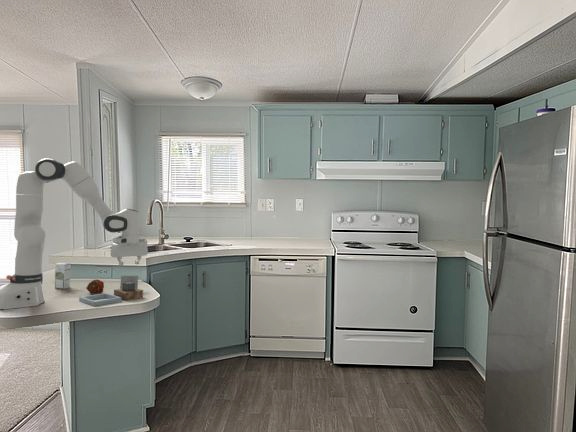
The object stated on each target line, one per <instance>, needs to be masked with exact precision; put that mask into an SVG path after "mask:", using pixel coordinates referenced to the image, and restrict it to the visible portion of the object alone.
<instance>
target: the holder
mask: <svg viewBox="0 0 576 432" xmlns="http://www.w3.org/2000/svg"><path fill="white" fill-rule="evenodd" d="M113 295H115V296H118V297H121V301H131V299H132V300H136V299H135V298H138V299H141V298H140V297H144V296H143V295H144V290H143V289H140V288H138V289H137V288H135V291H129V292H125V291H122V289H120V288H118V289H114V290H113Z"/></svg>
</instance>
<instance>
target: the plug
mask: <svg viewBox="0 0 576 432" xmlns="http://www.w3.org/2000/svg"><path fill="white" fill-rule="evenodd" d="M122 291H125V292H129V291H135V283H134V282H124V283H123V286H122Z"/></svg>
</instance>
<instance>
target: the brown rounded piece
mask: <svg viewBox="0 0 576 432" xmlns="http://www.w3.org/2000/svg"><path fill="white" fill-rule="evenodd" d="M104 288H105V283H104V281H102V280H100V279H97V278H96V279H93V280H91V282H89V283H88V284H87V286H86V287H85V289H86V290H87V291H88V292H89V293H90V294H91V295H96V294H102V293H104Z"/></svg>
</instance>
